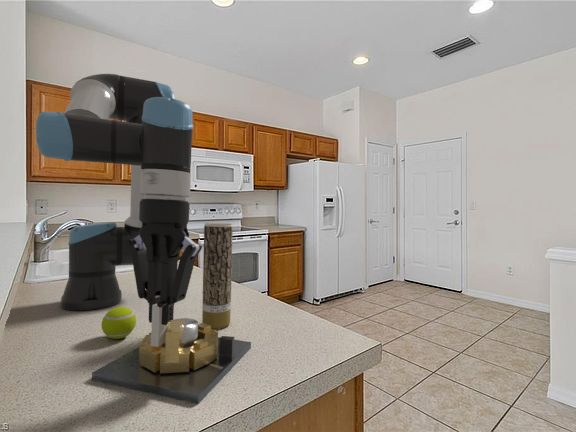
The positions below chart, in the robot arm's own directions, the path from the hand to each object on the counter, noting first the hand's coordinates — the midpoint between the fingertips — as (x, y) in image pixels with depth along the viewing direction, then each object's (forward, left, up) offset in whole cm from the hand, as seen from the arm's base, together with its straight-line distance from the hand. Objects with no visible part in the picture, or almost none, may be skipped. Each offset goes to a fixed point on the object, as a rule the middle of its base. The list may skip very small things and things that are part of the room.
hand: (160, 342), depth 52 cm
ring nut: (0, +6, -5) cm, 8 cm away
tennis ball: (-20, +12, -7) cm, 25 cm away
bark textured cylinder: (-4, +26, -7) cm, 28 cm away
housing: (-1, +7, -7) cm, 10 cm away
